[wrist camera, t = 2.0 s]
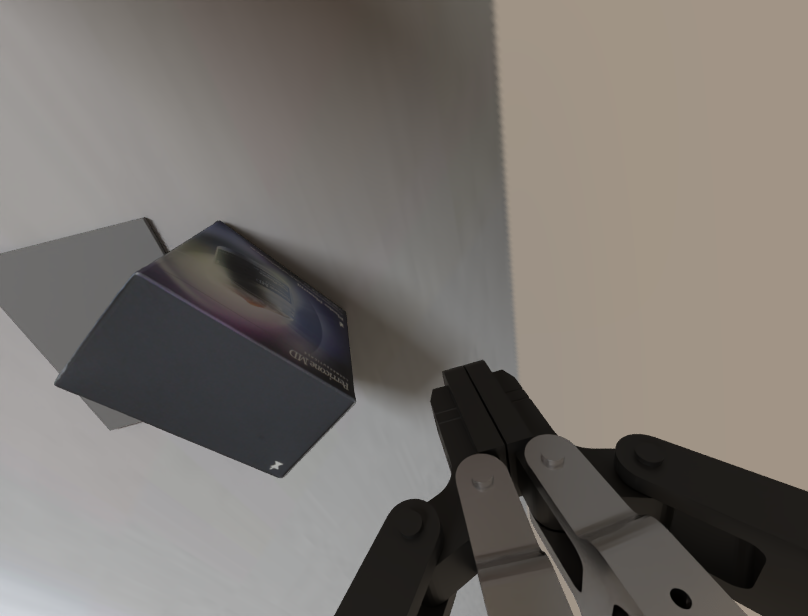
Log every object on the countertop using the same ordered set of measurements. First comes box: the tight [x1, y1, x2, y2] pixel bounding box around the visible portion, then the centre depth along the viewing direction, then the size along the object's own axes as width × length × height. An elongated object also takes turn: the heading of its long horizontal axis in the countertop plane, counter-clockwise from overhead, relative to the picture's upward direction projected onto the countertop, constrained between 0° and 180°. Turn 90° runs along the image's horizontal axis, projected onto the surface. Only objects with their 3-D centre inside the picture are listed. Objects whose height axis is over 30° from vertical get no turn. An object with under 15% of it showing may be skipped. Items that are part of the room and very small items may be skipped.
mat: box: [0, 217, 166, 430], centre depth 23 cm, size 14×10×1 cm
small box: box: [54, 221, 356, 478], centre depth 19 cm, size 11×6×10 cm, turn 46°
